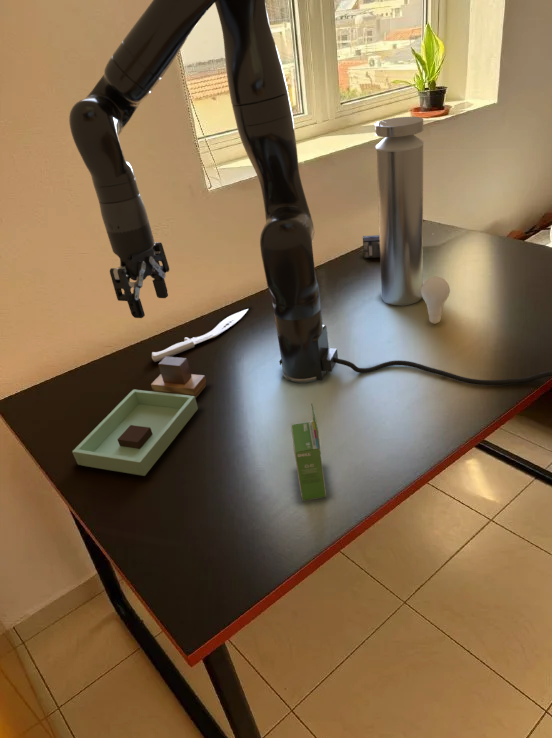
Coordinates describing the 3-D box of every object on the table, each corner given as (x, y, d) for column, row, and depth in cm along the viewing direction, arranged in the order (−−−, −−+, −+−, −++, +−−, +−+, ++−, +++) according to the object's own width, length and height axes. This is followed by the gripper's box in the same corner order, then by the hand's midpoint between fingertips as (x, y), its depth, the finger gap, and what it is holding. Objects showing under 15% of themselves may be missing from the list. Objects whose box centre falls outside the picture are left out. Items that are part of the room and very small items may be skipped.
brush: (207, 387, 119) (200, 356, 114) (196, 401, 115) (188, 369, 111) (166, 383, 122) (157, 352, 118) (154, 396, 118) (144, 365, 114)
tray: (198, 410, 112) (194, 395, 110) (145, 478, 97) (139, 462, 95) (138, 403, 117) (133, 389, 115) (78, 467, 102) (71, 451, 100)
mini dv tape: (363, 258, 166) (362, 237, 163) (364, 256, 168) (363, 236, 164) (392, 256, 165) (391, 236, 161) (392, 254, 166) (392, 234, 163)
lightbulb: (418, 328, 128) (418, 282, 122) (424, 316, 133) (424, 271, 127) (445, 330, 126) (447, 284, 120) (451, 317, 131) (452, 272, 124)
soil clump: (152, 434, 106) (150, 427, 105) (140, 449, 103) (137, 442, 102) (132, 431, 108) (130, 424, 107) (119, 446, 104) (117, 439, 104)
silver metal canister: (429, 291, 143) (431, 116, 121) (412, 308, 137) (411, 126, 114) (392, 285, 149) (387, 117, 126) (374, 302, 142) (366, 127, 119)
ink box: (298, 471, 94) (287, 405, 86) (321, 468, 94) (313, 401, 86) (301, 501, 88) (290, 433, 81) (327, 498, 88) (318, 429, 81)
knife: (247, 305, 147) (264, 313, 142) (248, 311, 148) (265, 320, 142) (139, 346, 133) (153, 357, 128) (141, 352, 134) (155, 363, 129)
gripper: (121, 237, 94) (148, 325, 103) (165, 210, 104) (186, 291, 114) (84, 237, 96) (114, 323, 106) (131, 210, 107) (154, 290, 116)
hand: (151, 307), depth 110 cm, fingers open, 8 cm apart
